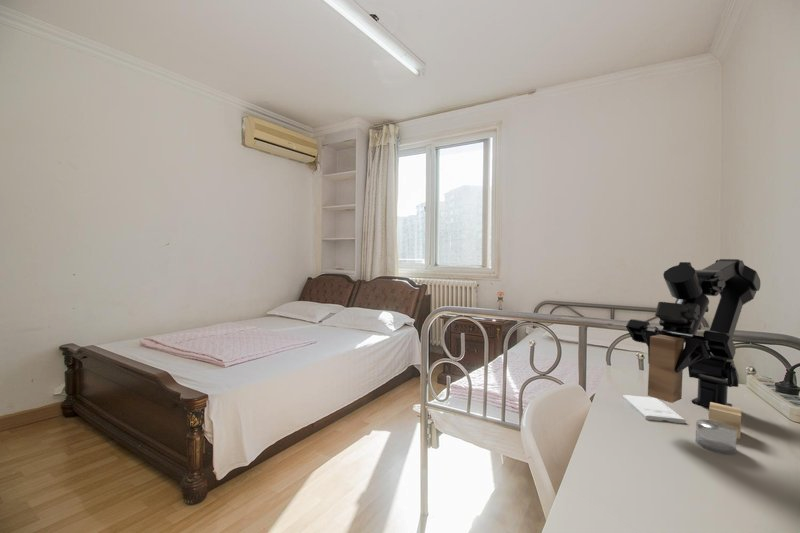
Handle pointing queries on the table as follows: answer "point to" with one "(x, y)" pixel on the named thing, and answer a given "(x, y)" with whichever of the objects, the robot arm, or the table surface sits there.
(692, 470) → the table surface
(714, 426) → the grey tin
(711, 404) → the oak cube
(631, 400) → the external hard drive
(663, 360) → the walnut block
